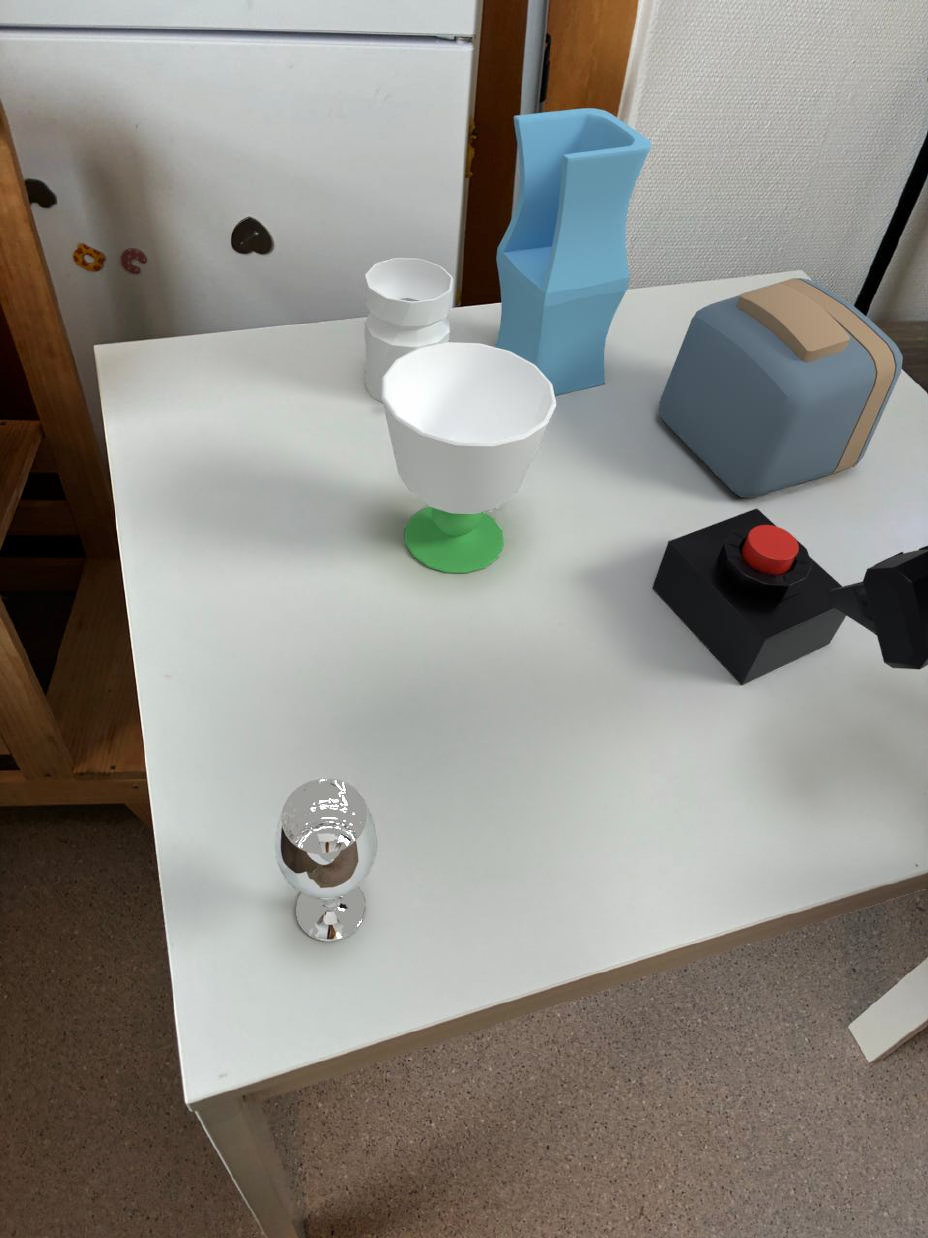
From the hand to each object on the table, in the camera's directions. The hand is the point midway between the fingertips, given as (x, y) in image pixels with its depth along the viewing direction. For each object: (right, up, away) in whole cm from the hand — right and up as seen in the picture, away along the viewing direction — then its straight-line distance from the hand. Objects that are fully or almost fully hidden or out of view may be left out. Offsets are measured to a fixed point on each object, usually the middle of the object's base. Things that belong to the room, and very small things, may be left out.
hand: (876, 576), depth 63 cm
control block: (-5, -3, +15) cm, 16 cm away
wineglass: (-37, -22, -5) cm, 43 cm away
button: (-4, +2, +10) cm, 11 cm away
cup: (-30, +4, +19) cm, 35 cm away
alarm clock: (+2, +15, +32) cm, 35 cm away
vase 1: (-35, +22, +34) cm, 54 cm away
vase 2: (-20, +25, +38) cm, 50 cm away
